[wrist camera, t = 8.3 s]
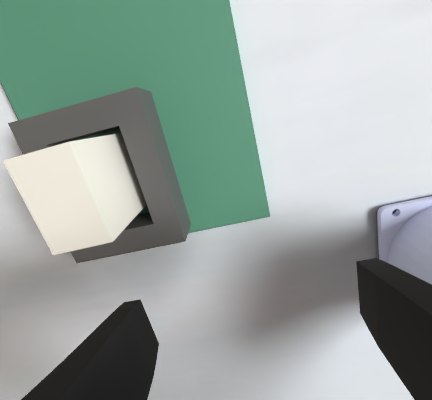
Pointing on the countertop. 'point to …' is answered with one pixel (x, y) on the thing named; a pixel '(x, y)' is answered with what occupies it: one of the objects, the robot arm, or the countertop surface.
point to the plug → (79, 191)
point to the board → (140, 104)
